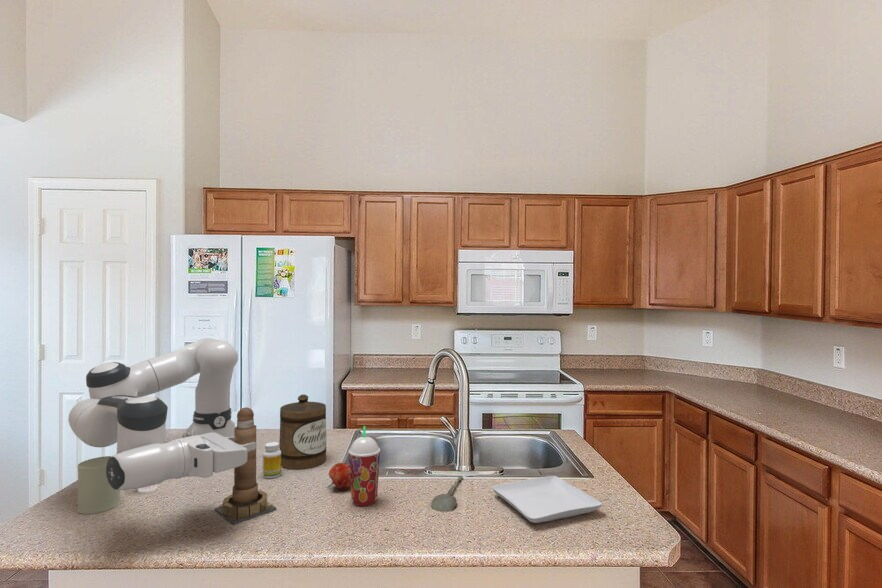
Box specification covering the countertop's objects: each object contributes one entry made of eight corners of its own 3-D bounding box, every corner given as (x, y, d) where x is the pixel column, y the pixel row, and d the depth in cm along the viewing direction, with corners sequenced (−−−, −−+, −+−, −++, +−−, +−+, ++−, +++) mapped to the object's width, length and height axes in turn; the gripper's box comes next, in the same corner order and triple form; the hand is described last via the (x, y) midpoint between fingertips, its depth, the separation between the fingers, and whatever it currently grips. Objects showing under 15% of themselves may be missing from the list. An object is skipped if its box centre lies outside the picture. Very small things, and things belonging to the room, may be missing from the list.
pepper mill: (228, 498, 122) (228, 407, 122) (251, 490, 127) (251, 403, 127) (238, 505, 118) (238, 411, 118) (262, 497, 123) (262, 407, 122)
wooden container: (302, 473, 148) (302, 401, 148) (269, 464, 155) (269, 396, 155) (335, 458, 161) (335, 393, 161) (303, 451, 168) (303, 388, 168)
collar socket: (214, 510, 122) (214, 498, 122) (256, 497, 130) (256, 486, 130) (233, 525, 115) (233, 512, 115) (276, 509, 123) (276, 498, 123)
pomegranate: (329, 501, 133) (357, 481, 132) (314, 479, 134) (342, 458, 133) (339, 493, 140) (366, 474, 139) (326, 472, 141) (352, 452, 141)
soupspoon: (427, 514, 123) (452, 519, 121) (427, 501, 123) (452, 506, 121) (450, 479, 144) (471, 482, 142) (450, 468, 144) (472, 471, 142)
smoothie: (385, 496, 131) (385, 423, 131) (372, 510, 123) (372, 432, 123) (356, 493, 133) (356, 421, 133) (342, 506, 125) (342, 429, 125)
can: (127, 503, 127) (127, 457, 127) (87, 517, 119) (87, 469, 119) (110, 495, 131) (109, 452, 131) (70, 508, 123) (70, 462, 123)
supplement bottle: (260, 474, 146) (260, 443, 146) (277, 470, 150) (277, 440, 150) (266, 480, 142) (266, 448, 142) (284, 476, 146) (284, 444, 146)
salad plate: (489, 496, 132) (489, 484, 132) (555, 485, 139) (555, 473, 139) (531, 532, 112) (531, 518, 112) (604, 517, 120) (604, 503, 120)
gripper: (176, 458, 120) (231, 445, 130) (208, 480, 106) (267, 464, 116) (176, 433, 120) (231, 422, 130) (208, 451, 106) (267, 438, 116)
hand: (248, 442), depth 123 cm, fingers closed on pepper mill, 5 cm apart
